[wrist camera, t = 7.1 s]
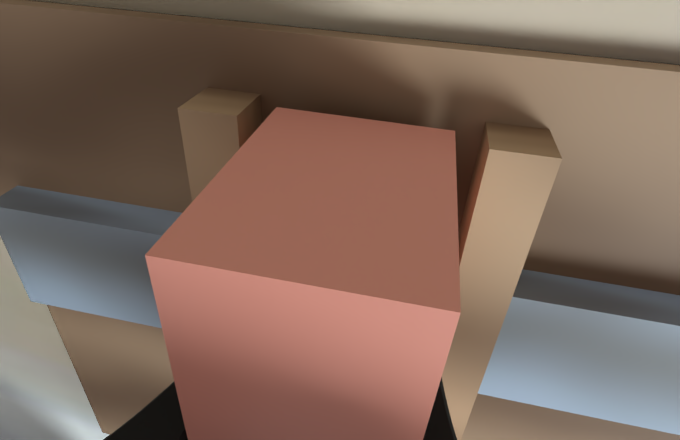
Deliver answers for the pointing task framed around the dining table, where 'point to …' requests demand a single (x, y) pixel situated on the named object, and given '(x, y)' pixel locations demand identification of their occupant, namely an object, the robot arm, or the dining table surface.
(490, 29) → the dining table surface
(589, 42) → the dining table surface
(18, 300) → the dining table surface
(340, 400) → the salmon pink rectangular block
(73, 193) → the jig
